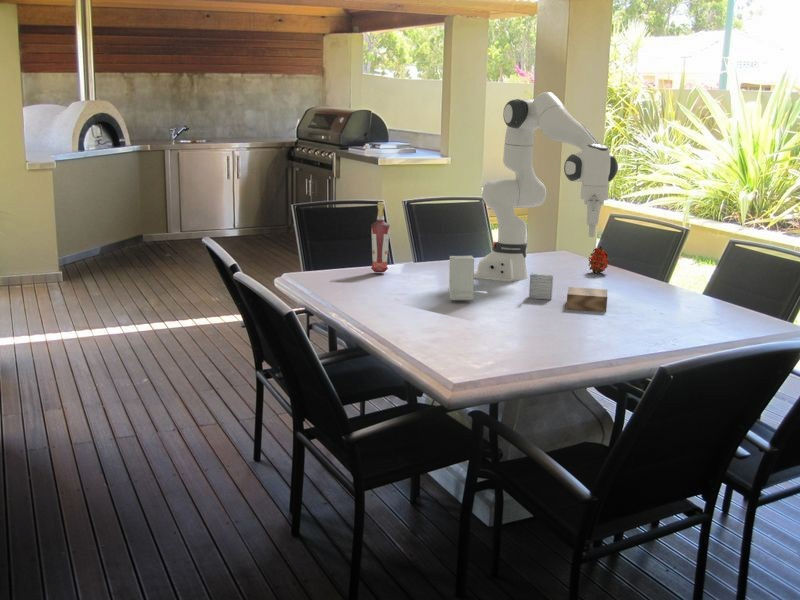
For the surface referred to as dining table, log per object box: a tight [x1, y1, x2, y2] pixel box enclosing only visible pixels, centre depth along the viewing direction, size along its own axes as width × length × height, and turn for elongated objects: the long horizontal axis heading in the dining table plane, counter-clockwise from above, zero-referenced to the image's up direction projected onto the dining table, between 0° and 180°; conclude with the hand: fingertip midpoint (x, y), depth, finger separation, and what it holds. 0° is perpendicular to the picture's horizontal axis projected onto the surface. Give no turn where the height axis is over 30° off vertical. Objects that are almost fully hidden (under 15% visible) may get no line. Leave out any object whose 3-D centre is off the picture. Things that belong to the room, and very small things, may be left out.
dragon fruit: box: [588, 245, 610, 274], centre depth 347 cm, size 8×8×12 cm
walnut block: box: [565, 286, 608, 312], centre depth 286 cm, size 13×13×5 cm
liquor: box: [370, 201, 390, 273], centre depth 340 cm, size 7×7×28 cm
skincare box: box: [448, 255, 475, 301], centre depth 293 cm, size 8×6×15 cm
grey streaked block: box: [528, 272, 554, 301], centre depth 297 cm, size 8×4×9 cm, turn 77°
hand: (591, 235), depth 282 cm, fingers open, 4 cm apart
